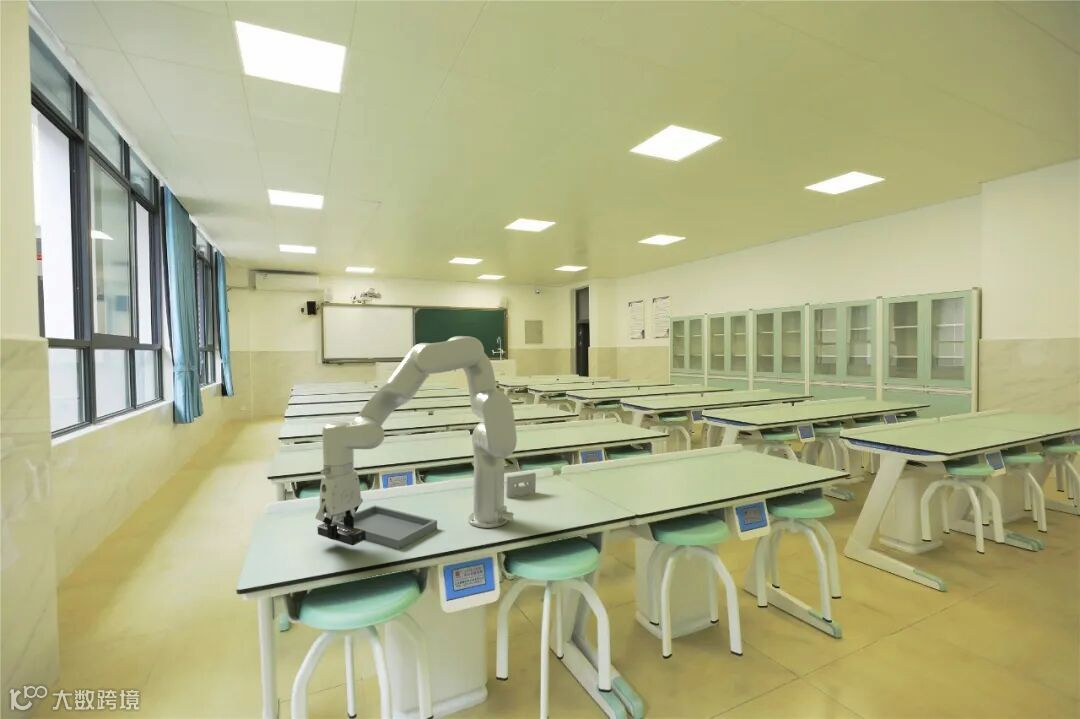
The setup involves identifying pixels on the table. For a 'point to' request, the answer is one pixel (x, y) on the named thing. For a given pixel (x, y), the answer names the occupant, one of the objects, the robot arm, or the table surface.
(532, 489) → the cassette
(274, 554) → the table surface
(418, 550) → the table surface
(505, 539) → the table surface
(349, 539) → the multiport hub
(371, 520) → the tray
